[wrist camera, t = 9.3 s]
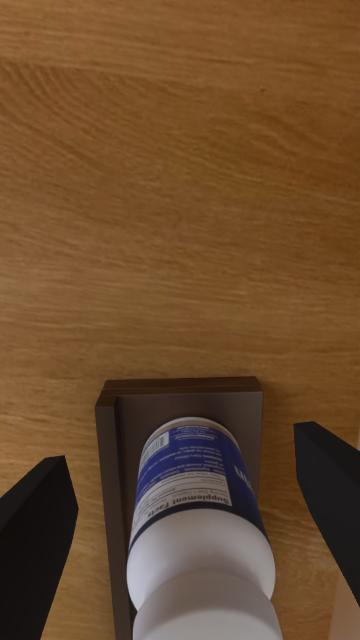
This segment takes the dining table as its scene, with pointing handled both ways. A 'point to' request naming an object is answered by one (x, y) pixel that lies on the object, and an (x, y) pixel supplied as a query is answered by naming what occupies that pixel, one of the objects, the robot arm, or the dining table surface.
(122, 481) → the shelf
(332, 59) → the dining table surface
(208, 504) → the pill bottle
